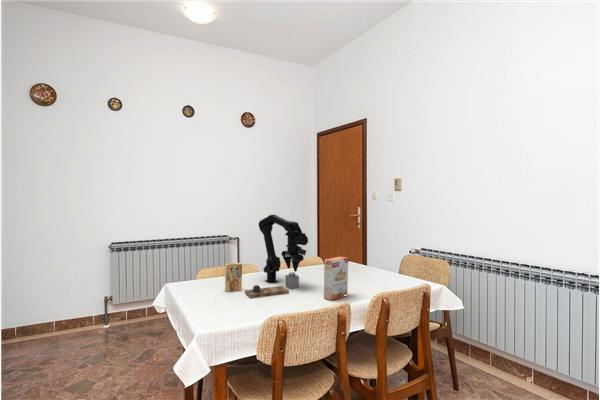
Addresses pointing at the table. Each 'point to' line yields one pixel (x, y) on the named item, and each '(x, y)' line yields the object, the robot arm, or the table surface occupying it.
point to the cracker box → (335, 277)
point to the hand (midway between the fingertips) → (292, 269)
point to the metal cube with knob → (292, 281)
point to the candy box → (233, 277)
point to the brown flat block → (266, 291)
